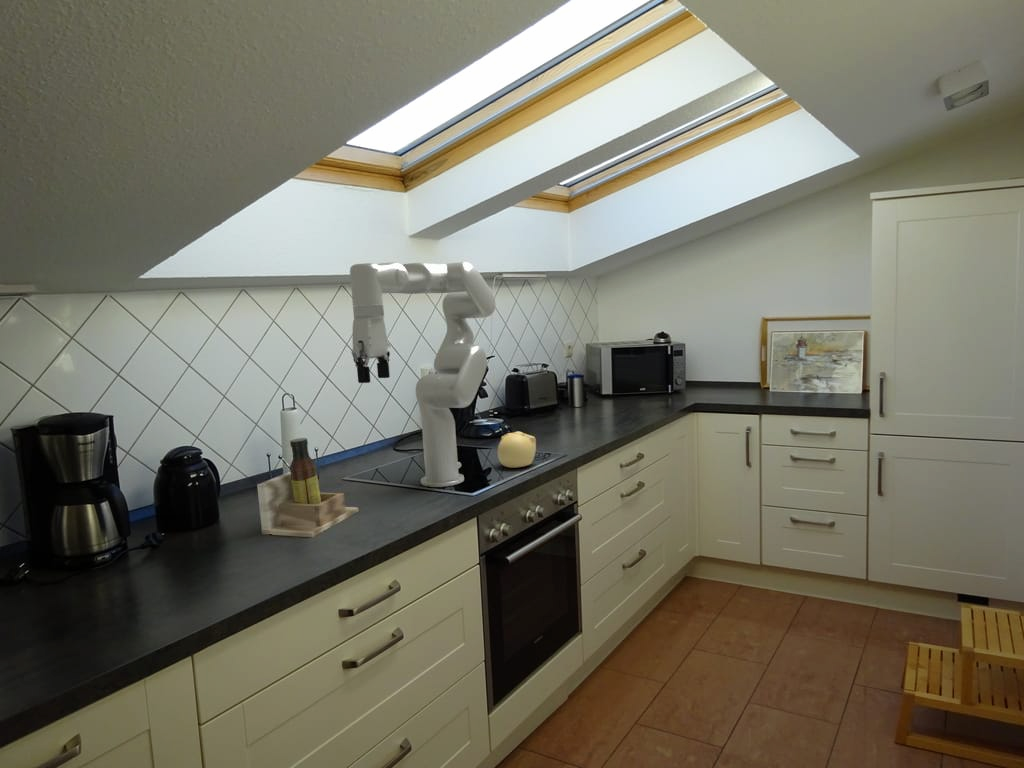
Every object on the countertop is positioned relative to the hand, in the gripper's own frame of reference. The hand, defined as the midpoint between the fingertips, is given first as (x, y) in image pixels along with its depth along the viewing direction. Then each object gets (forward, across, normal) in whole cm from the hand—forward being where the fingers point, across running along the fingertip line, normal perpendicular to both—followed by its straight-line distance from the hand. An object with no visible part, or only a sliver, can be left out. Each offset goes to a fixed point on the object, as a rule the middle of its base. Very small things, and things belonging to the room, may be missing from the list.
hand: (374, 380), depth 182 cm
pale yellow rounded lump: (+34, -46, +21) cm, 61 cm away
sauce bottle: (+32, +15, -13) cm, 38 cm away
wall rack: (+33, +15, -12) cm, 38 cm away
